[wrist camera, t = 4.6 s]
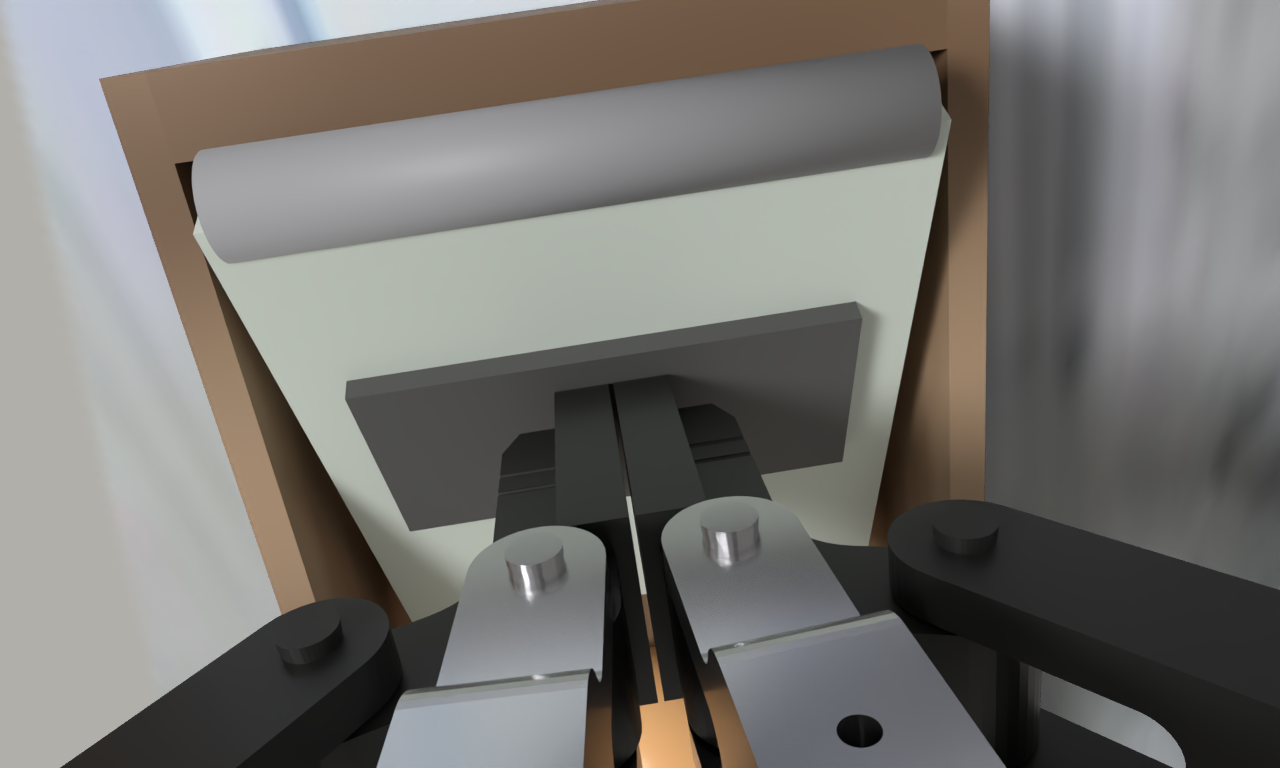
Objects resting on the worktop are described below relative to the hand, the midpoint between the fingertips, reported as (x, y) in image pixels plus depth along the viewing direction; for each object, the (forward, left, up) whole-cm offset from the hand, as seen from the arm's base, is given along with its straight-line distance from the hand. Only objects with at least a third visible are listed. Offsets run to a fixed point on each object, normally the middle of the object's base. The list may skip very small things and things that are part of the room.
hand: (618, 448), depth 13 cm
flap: (0, 0, -1) cm, 1 cm away
